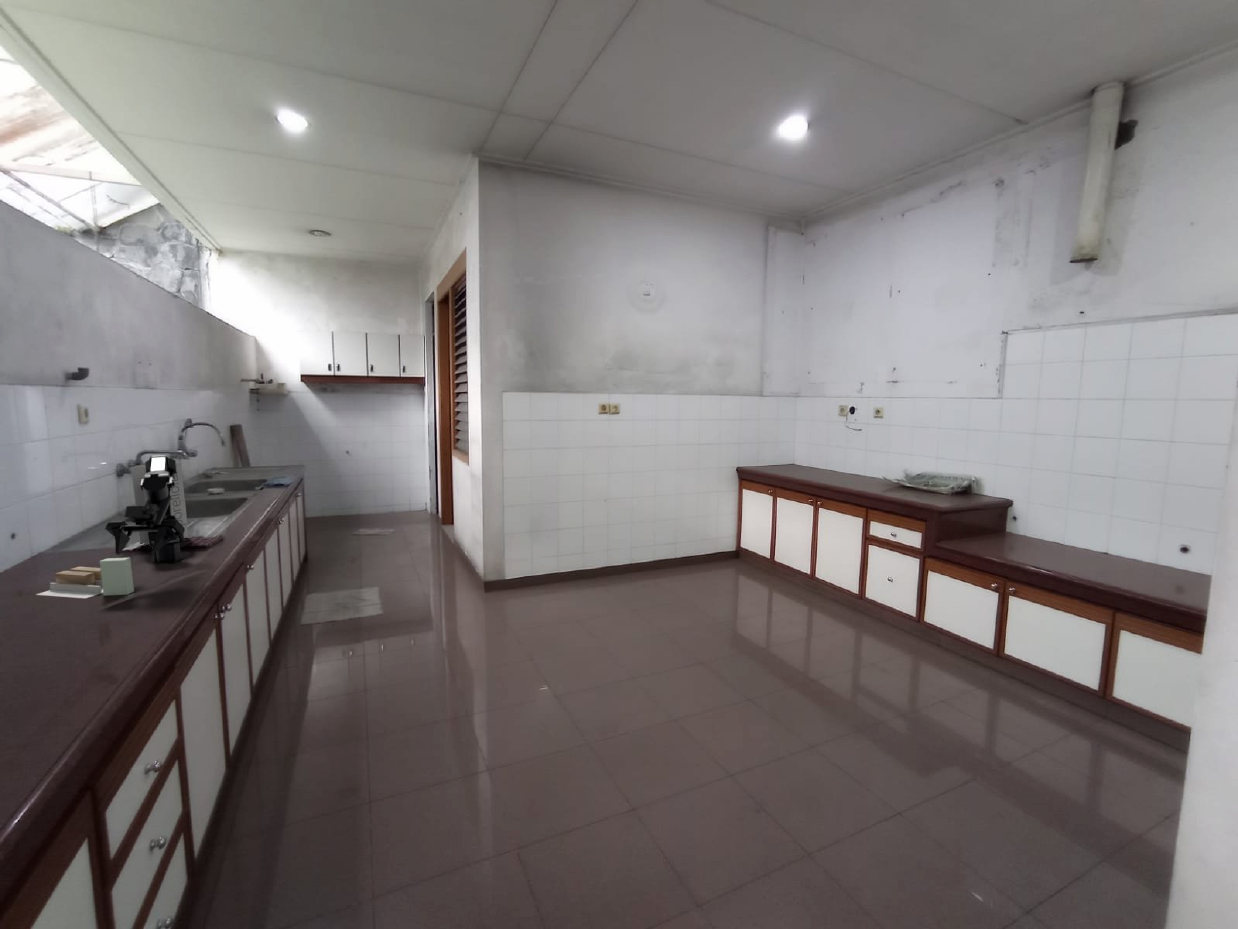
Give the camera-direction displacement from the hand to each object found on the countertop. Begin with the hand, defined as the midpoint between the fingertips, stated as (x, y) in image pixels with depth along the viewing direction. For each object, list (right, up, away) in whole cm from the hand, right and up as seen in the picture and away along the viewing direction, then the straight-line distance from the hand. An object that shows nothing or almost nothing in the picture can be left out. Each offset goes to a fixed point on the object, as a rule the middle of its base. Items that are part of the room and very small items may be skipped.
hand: (134, 553), depth 165 cm
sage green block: (+1, -11, -6) cm, 13 cm away
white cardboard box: (-29, -4, +47) cm, 55 cm away
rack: (-12, -11, -3) cm, 16 cm away
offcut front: (-14, -9, +1) cm, 17 cm away
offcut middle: (-15, -10, -3) cm, 18 cm away
